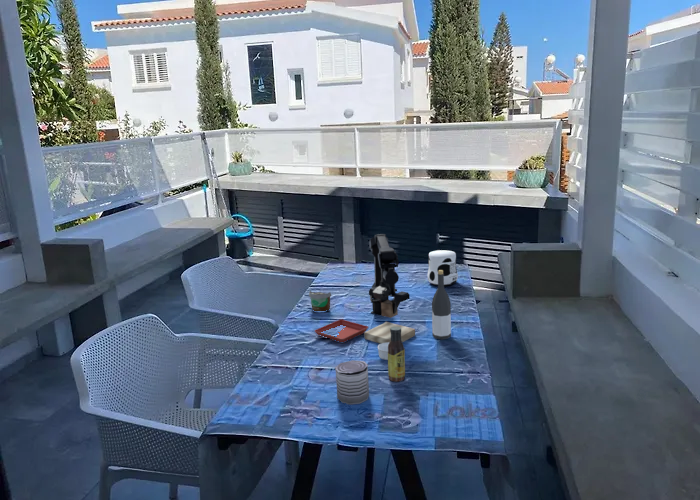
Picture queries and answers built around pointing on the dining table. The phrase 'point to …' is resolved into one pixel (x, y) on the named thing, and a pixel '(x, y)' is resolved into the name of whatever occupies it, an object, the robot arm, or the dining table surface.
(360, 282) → the dining table surface
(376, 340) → the birch base
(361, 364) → the can
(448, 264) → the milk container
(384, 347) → the ramekin
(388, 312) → the walnut block
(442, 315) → the wine bottle
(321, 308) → the food container
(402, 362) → the sauce bottle
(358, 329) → the plant saucer
